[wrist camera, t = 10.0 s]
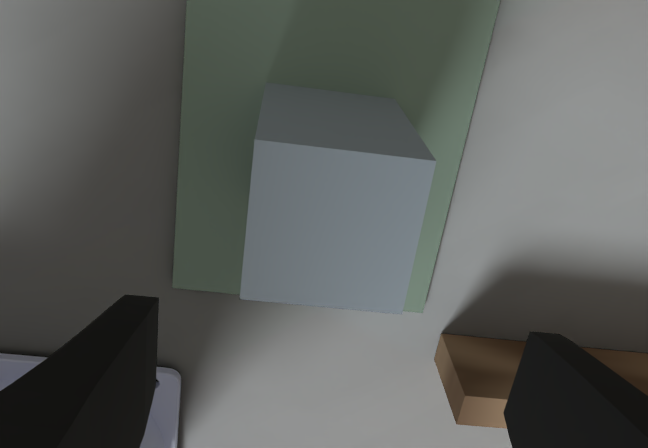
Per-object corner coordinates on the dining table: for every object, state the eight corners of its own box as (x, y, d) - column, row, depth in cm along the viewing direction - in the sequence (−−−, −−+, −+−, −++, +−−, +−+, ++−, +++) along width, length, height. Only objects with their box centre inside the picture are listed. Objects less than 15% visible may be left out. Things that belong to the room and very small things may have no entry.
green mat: (173, 283, 22) (172, 288, 21) (191, -55, 17) (189, -55, 17) (420, 308, 22) (422, 312, 22) (498, -7, 18) (501, -6, 18)
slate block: (254, 203, 20) (239, 299, 15) (265, 82, 18) (254, 139, 13) (373, 215, 20) (401, 314, 15) (394, 99, 19) (436, 161, 13)
